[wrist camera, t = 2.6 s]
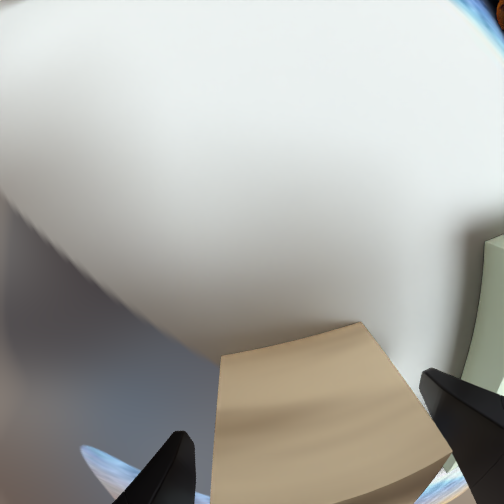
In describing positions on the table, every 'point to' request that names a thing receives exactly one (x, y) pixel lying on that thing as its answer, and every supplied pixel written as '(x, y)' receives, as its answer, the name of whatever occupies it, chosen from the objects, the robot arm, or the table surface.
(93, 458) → the table surface
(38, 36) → the table surface
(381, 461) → the birch block
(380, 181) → the table surface
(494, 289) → the plinth
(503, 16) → the burger
